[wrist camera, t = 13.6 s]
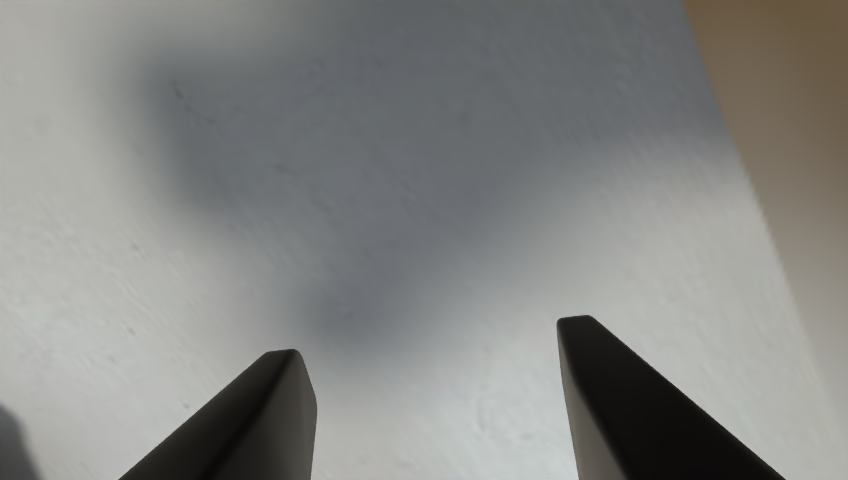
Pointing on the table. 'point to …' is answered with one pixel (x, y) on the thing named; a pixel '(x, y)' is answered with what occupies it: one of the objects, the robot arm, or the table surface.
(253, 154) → the table surface
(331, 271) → the table surface
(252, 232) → the table surface
